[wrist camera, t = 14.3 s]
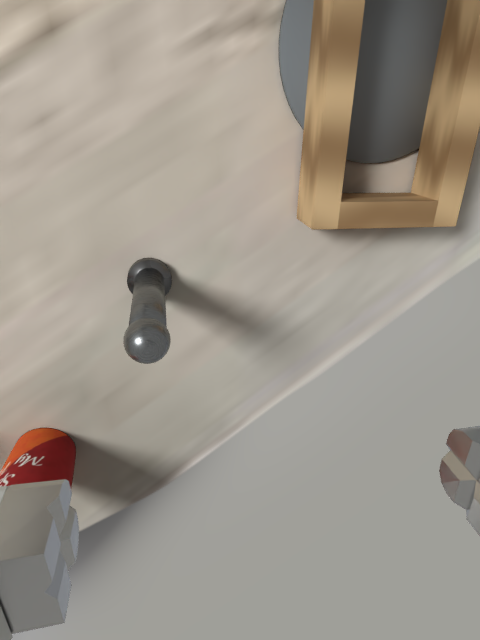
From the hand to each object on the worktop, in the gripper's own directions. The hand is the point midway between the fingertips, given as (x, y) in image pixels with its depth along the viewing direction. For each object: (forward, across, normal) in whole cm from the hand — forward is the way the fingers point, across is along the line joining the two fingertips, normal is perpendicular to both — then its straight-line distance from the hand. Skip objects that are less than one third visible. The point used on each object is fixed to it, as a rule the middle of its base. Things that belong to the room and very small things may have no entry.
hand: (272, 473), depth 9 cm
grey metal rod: (+28, +3, +6) cm, 29 cm away
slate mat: (+28, -15, -12) cm, 34 cm away
